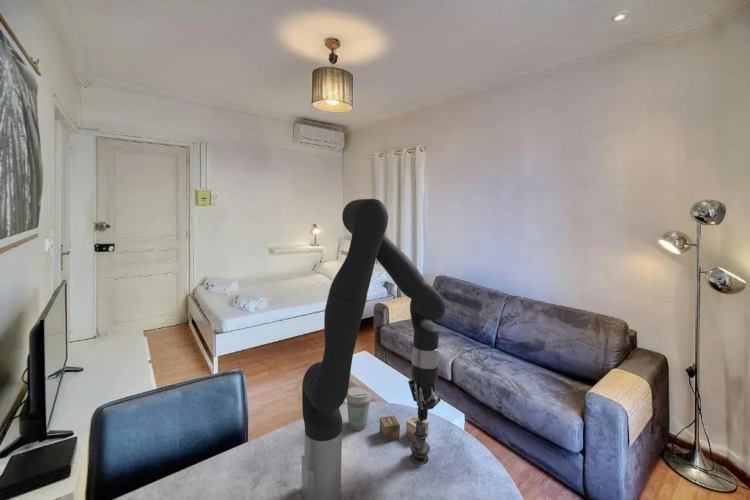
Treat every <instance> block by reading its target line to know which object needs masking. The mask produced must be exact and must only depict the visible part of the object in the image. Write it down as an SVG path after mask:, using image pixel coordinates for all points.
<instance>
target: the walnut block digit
mask: <svg viewBox="0 0 750 500" xmlns="http://www.w3.org/2000/svg"><path fill="white" fill-rule="evenodd" d="M400 429H401V424H400V422H399V421H398V419H397V418H396V416H395V415H391V416H390V415H389V416H382V417H379V434H380V436H381V438H382V439H383V441H384V443H385V442H391V441H398V440H400V434H401V430H400Z"/></svg>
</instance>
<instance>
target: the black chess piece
mask: <svg viewBox="0 0 750 500" xmlns="http://www.w3.org/2000/svg"><path fill="white" fill-rule="evenodd" d="M414 435H415V441H414V440H412V441H411V443H409V448H410V451H411V454H410V460H411V461H412V462H413V463H414V464H416V465H419V466H420V465H421V466H422V465H426V464H428V463H429V456H428V455H429V453H430V451H431V446H430V444H429V443H428V442H426V437H427V434H426V424H425V423H424V422H422V421H421V420H420V421H419V422H417V423H416V432H415V433H414ZM427 438H428V437H427Z"/></svg>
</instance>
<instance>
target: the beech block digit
mask: <svg viewBox="0 0 750 500" xmlns="http://www.w3.org/2000/svg"><path fill="white" fill-rule="evenodd" d="M419 421H420V419H418V414H417V415H414V416H413V417H411V418H409V419H408V420H406V426H405V429H406V430H405V436H407V438H409V439H410V440H412V441H415V435H414V433H415V432H416V423H417V422H419ZM422 422H424V423H425V424H426V434H427V437H426V438H428V437H429V423H430V422H429V421H427V419H426V420H424V421H422Z"/></svg>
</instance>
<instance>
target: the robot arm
mask: <svg viewBox="0 0 750 500" xmlns="http://www.w3.org/2000/svg"><path fill="white" fill-rule="evenodd" d="M341 219H342V223H343V226H344V228H345V229H346V230H347V231H348V232H349V233H350V234H351V239H350V244H349V248H348V252H347V254H346V257H345V259H344V261H343V262H342V264H341V267H340V268H339V269H338V271H337V273H336V275H335V276H334V278H333V280H332V282H331V284H330V287H329V291H328V296H327V299H326V304H325V309H324V314H323V315H324V319H323V322H324V323H323V326H324V327H323V328H324V329H323V331H324V351H323V356H322V357H323V358H322V361H318V362H315V363H313V364H311V365H310V366H309V367H308V368H307V369H306V371H305V374H303V379H302V383H301V386H302V387H301V395H302V396H301V397H302V398H301V401H302V419H303V424H304V445H303V446H304V448H303V449H304V454H303V456H301V494H302V497H303V498H304V500H340V498H341V494H342V491H341V490H342V460H343V459H342V457H343V456H342V454H343V453H342V452H343V417H342V414H341V409H340V407H341V406H342V405H343V403H344V402H345V400H346V396H347V392H348V390H349V386H350V379H351V370H352V365H353V364H352V363H353V357H354V352H355V348H356V343H357V339H358V335H359V332H360V327H361V322H362V318H363V315H364V313H365V312H364V311H365V307H366V303H367V298H368V293H369V287H370V285H371V281H372V276H373V273H374V268H375V264H376V260H377V262H379V264H380V265H381V267H383V269H384V270H385V272H387V273H386V274H388V275H389V276H390V278H391V279H392V281H393V282H394V284H395V285H396V286H397V287H398V289H399V290H400V291H401V293H402V294H403V295H405V296H406V297H407V298H409V299H410V303H409V313H410V318H411V323H412V325H411V326H412V327H413V342H412V344H413V346H412V352H411V353H412V354H411V368H410V369H411V372H410V376H411V378H412V379H409V380H408V387H409V390H410V393H411V396H412V399H413V402H416V406H417V416H418V419H420V420H421V421H424V420H426V421H427V419H428V412H429V410H433V409H434V408H435V407H436V406H437V405H438V404H439V403H440V402H441V397H440V396H437V394H436V393H435V392H436V386H435V383H436V381H437V380H438V378H439V377H438V375H439V358H440V357H439V337H440V333H439V329H438V328H437V327H436V326H435V324H434V323H433V321H439V320H441V318H443V317H444V315H445V313H446V302H445V301H444V299H443V297H442V296H441V294H440V293H439V292H438V290H437V289H435V288H434V287H433V286H432V285H431V283H429V282H427V281H426V279H425V277H424V276H423V275H422V273H421V272H420V271H419V269H418V268H417V266H416V265H415V264H414V263H413V261H412V260H411V259H410V258H409V257H408V256H407V255H406V254H405V253H404V252H403V251H402V250H401V249H400V248H399V247H397V245H395V244H394V243H393V241H392V240H390V239H389V237H388V236H387V235H386V234H385V233H386V230H387V227H388V223H389V213H388V209H387V206H386V205H385V204H384V203H383V202H382V201H381V200H379V199H376V198H362V199H361V198H360V199H355V200H351V201H350V202H348V203H347V204H346V205H345V207H344V208H343V210H342V215H341Z"/></svg>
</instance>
